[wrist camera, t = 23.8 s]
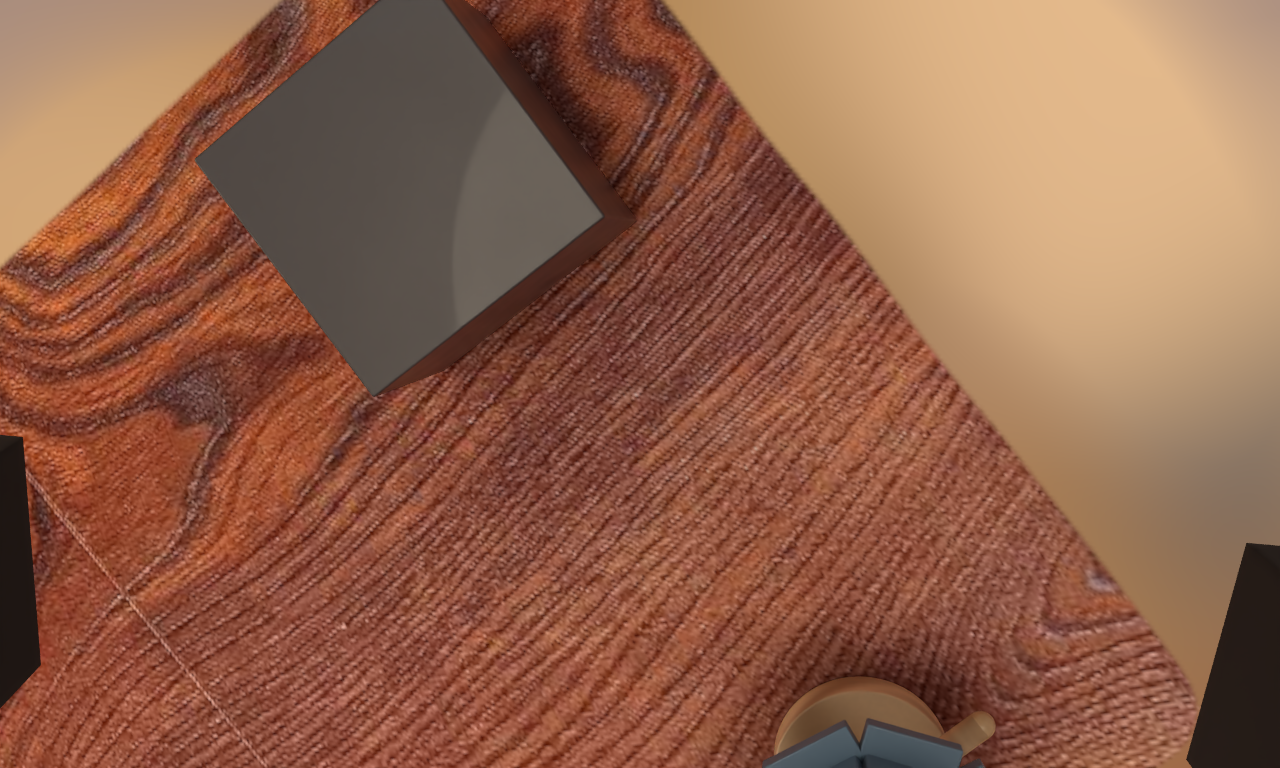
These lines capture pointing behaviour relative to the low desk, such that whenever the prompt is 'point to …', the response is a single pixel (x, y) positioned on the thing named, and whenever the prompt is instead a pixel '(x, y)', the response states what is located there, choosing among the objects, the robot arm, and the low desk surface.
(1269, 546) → the robot arm
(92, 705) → the low desk surface
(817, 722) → the hat stand
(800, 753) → the hat
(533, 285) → the riser
